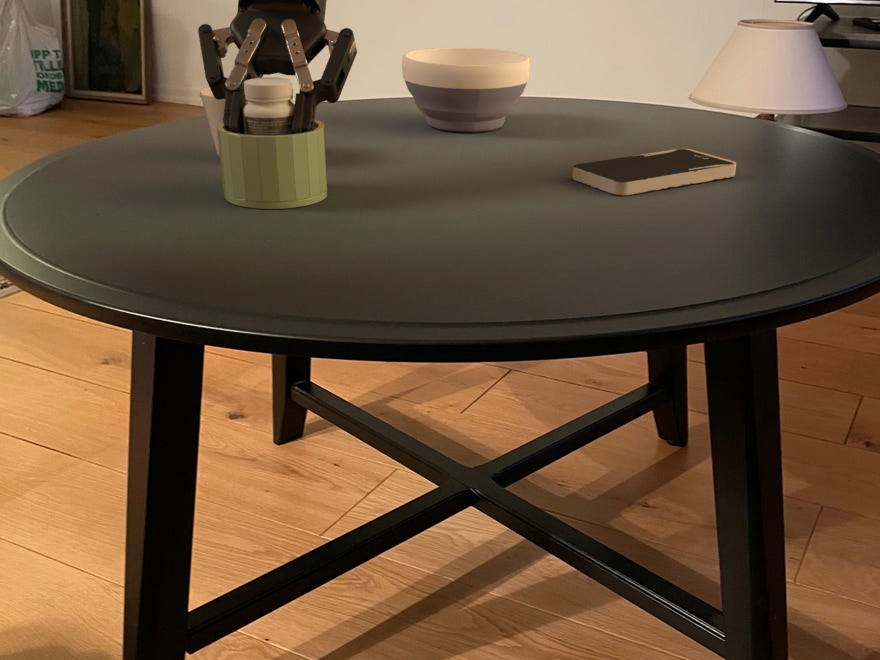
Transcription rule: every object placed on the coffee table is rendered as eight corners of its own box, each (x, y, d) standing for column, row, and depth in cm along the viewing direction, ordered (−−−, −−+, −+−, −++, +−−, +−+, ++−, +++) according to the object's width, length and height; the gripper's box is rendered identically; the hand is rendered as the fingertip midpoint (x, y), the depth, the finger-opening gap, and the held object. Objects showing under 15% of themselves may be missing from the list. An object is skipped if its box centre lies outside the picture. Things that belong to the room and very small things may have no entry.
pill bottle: (311, 183, 90) (305, 82, 86) (260, 190, 88) (251, 87, 84) (290, 171, 93) (283, 74, 89) (240, 178, 91) (231, 78, 87)
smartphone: (569, 165, 98) (685, 147, 105) (568, 179, 98) (684, 161, 106) (621, 183, 92) (740, 163, 99) (620, 198, 93) (738, 177, 100)
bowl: (381, 131, 115) (379, 59, 112) (431, 109, 127) (431, 44, 124) (503, 143, 111) (505, 69, 107) (543, 120, 123) (546, 52, 119)
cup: (281, 215, 86) (275, 141, 83) (202, 198, 90) (194, 127, 87) (348, 192, 92) (345, 123, 89) (272, 177, 96) (267, 111, 93)
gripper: (194, -64, 88) (169, 109, 83) (360, -60, 88) (344, 114, 83) (218, -3, 95) (196, 160, 91) (371, 1, 95) (357, 165, 90)
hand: (267, 137), depth 87 cm, fingers closed on pill bottle, 4 cm apart
